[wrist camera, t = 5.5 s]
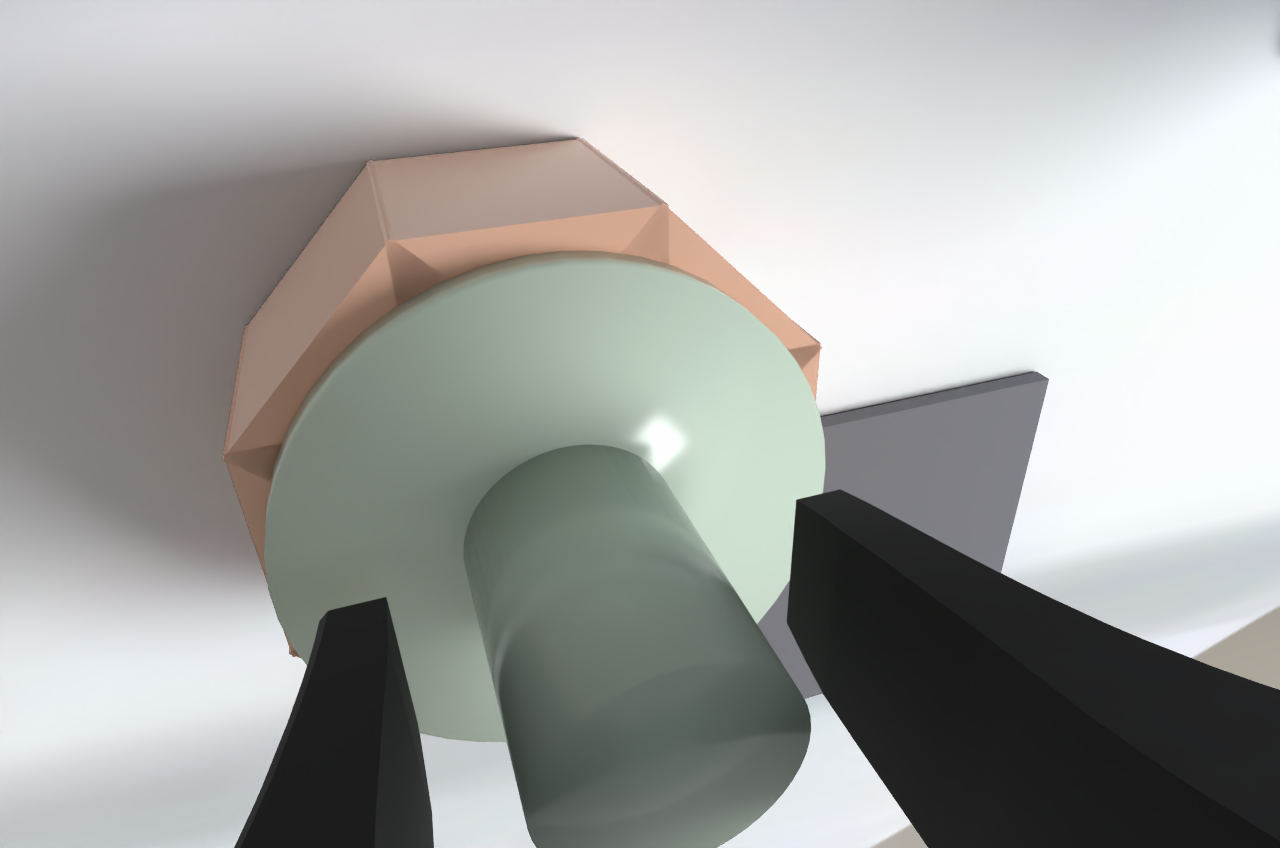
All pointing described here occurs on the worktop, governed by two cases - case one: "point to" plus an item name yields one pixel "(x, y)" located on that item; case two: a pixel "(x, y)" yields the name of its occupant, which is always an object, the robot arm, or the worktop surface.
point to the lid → (568, 534)
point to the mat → (930, 475)
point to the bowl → (446, 271)
